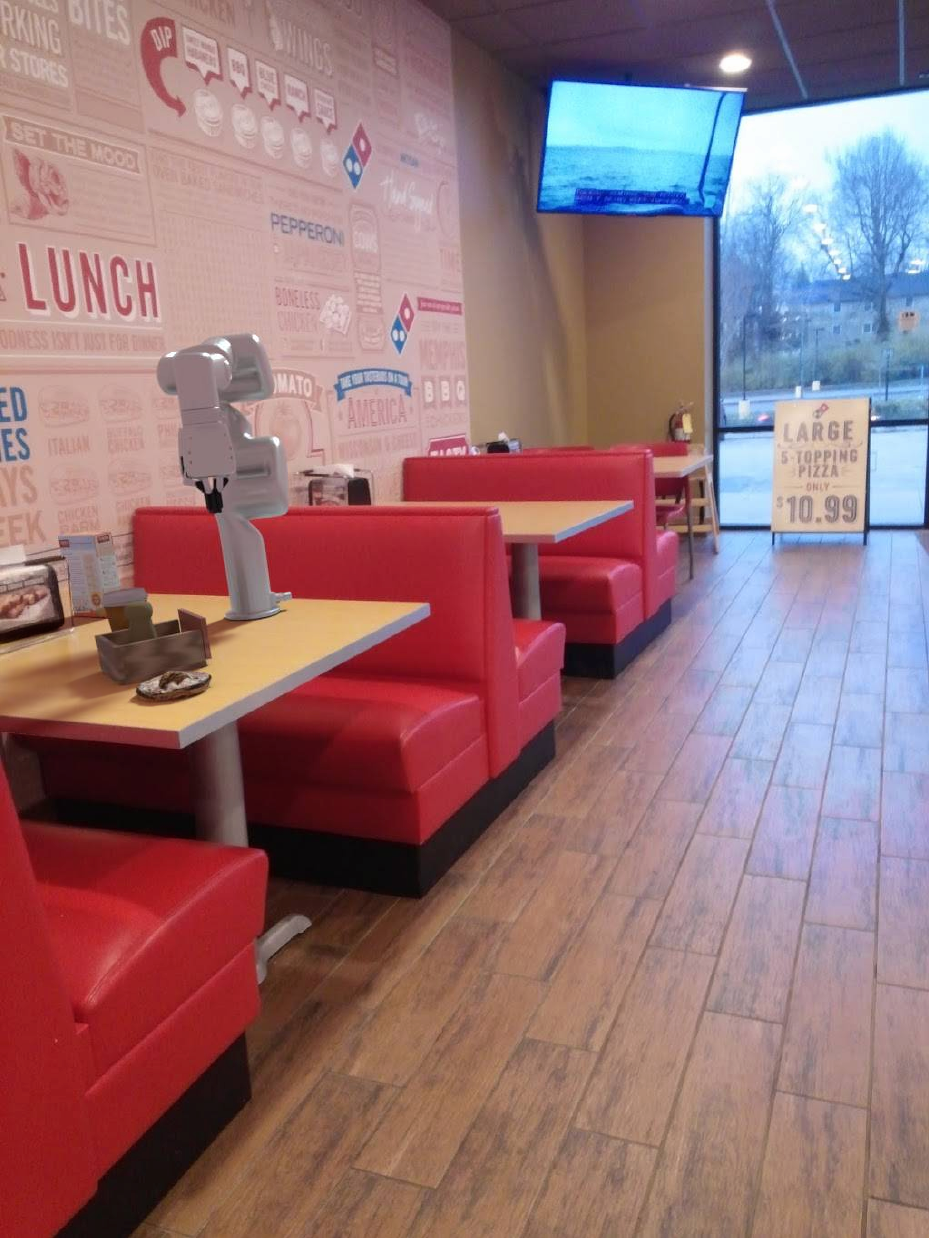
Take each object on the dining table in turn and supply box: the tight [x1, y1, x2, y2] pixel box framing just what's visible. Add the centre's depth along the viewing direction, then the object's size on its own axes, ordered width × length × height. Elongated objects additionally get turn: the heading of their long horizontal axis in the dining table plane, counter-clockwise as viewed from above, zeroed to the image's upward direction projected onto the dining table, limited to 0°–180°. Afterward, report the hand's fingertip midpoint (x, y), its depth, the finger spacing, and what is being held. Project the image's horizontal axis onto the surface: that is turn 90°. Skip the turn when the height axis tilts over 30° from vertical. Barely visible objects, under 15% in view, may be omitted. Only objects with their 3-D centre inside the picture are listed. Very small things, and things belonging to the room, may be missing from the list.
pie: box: [135, 670, 212, 703], centre depth 169 cm, size 15×15×4 cm
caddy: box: [94, 618, 208, 686], centre depth 186 cm, size 16×15×7 cm
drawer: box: [177, 608, 212, 661], centre depth 187 cm, size 16×14×8 cm
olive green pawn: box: [124, 601, 157, 643], centre depth 185 cm, size 6×6×11 cm
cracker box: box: [57, 531, 122, 619], centre depth 245 cm, size 14×6×21 cm, turn 58°
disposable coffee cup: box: [100, 587, 149, 632], centre depth 205 cm, size 10×10×12 cm
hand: (215, 512), depth 194 cm, fingers closed
